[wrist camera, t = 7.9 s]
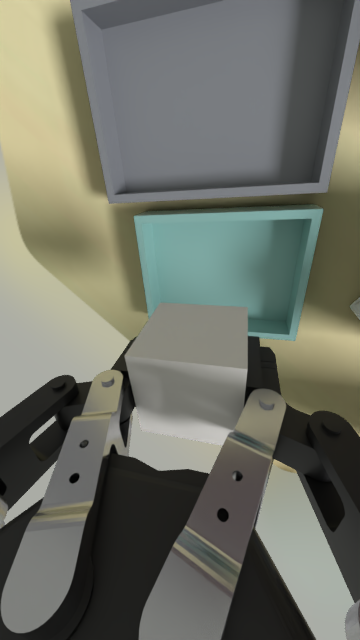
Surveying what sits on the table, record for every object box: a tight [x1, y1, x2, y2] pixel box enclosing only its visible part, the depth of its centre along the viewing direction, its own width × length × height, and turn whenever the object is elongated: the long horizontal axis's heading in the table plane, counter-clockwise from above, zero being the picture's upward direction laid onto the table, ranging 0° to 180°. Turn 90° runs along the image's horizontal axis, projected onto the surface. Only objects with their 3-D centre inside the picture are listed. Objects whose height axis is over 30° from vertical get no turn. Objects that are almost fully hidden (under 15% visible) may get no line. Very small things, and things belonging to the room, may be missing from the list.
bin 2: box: [134, 204, 323, 341], centre depth 22 cm, size 14×11×3 cm
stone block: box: [125, 303, 248, 446], centre depth 12 cm, size 4×4×4 cm
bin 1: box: [70, 0, 360, 204], centre depth 16 cm, size 16×11×3 cm
